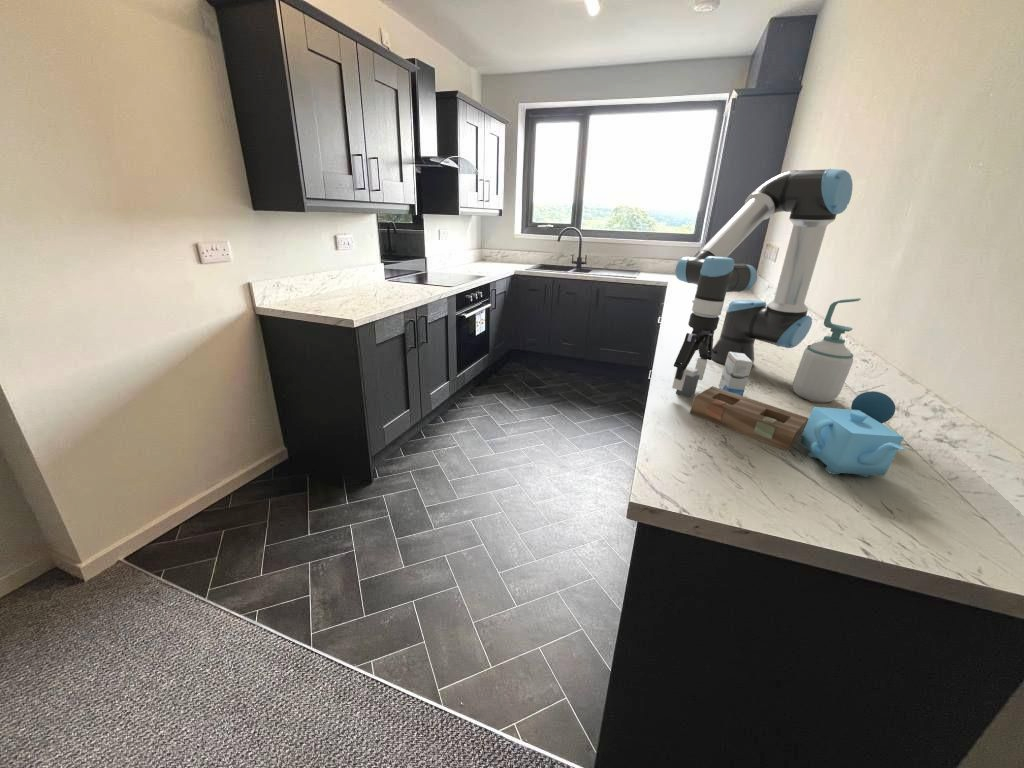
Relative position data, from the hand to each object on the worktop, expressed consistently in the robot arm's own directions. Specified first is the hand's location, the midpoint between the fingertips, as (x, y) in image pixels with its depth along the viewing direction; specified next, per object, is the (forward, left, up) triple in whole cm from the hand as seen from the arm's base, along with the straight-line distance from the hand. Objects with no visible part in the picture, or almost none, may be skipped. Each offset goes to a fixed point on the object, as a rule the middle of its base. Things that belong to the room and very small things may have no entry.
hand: (687, 383), depth 123 cm
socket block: (+6, +19, -3) cm, 20 cm away
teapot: (+11, +42, -4) cm, 44 cm away
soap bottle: (-33, +26, -4) cm, 42 cm away
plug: (0, 0, -3) cm, 3 cm away
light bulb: (-14, +41, -4) cm, 43 cm away
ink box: (-14, +8, -4) cm, 16 cm away
